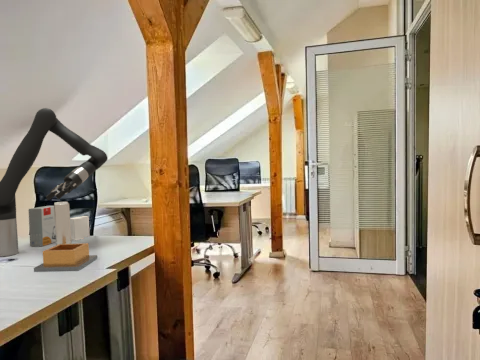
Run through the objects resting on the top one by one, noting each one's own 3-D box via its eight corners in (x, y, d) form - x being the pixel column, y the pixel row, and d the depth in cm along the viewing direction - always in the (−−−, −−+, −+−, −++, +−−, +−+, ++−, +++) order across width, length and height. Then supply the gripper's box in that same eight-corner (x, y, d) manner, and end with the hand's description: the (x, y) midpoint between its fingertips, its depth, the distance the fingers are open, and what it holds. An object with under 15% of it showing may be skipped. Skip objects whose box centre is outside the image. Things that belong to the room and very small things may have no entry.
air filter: (66, 256, 168) (62, 202, 167) (53, 256, 170) (50, 202, 168) (75, 253, 175) (72, 201, 173) (63, 253, 176) (60, 201, 175)
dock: (34, 271, 146) (32, 253, 146) (57, 259, 164) (56, 242, 164) (78, 270, 146) (77, 251, 145) (97, 258, 164) (96, 241, 163)
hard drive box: (42, 246, 192) (40, 208, 190) (29, 246, 193) (27, 209, 192) (61, 240, 207) (59, 205, 206) (49, 240, 208) (47, 205, 207)
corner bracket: (75, 240, 205) (74, 219, 204) (64, 238, 212) (63, 217, 211) (92, 237, 213) (91, 216, 213) (82, 235, 220) (81, 215, 219)
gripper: (63, 173, 185) (38, 193, 174) (80, 169, 177) (55, 190, 166) (72, 184, 188) (49, 205, 177) (89, 182, 180) (65, 203, 169)
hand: (52, 198), depth 171 cm, fingers open, 8 cm apart
